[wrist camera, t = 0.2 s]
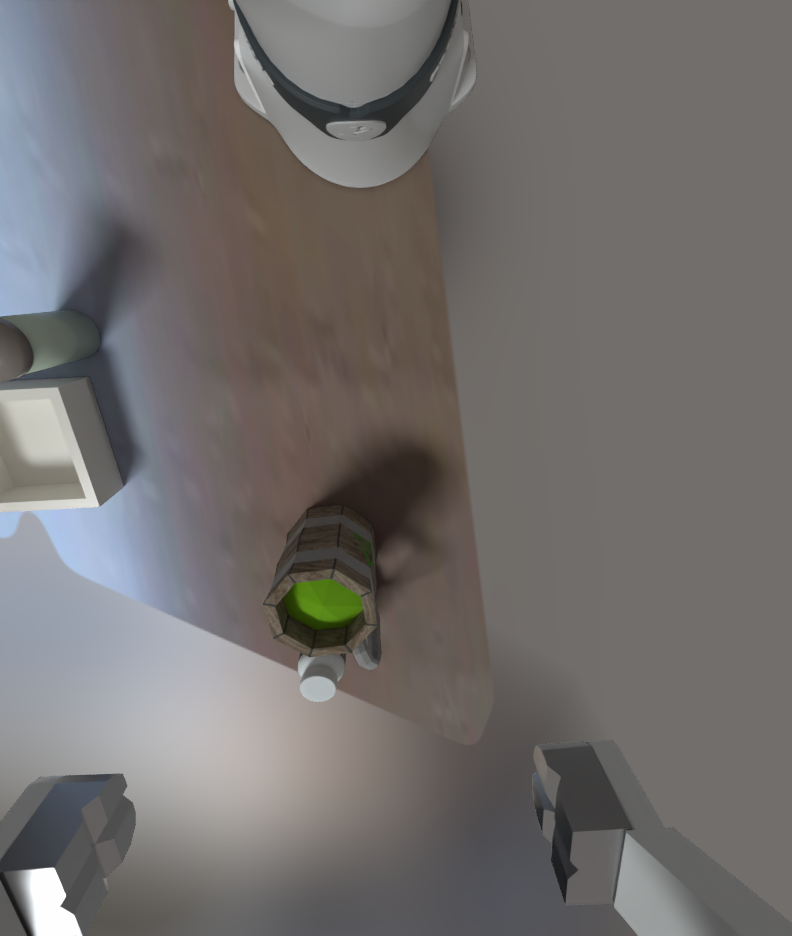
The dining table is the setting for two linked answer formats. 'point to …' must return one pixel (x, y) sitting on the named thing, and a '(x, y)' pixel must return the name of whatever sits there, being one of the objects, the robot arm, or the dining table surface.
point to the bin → (54, 446)
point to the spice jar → (44, 341)
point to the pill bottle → (320, 675)
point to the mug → (327, 587)
